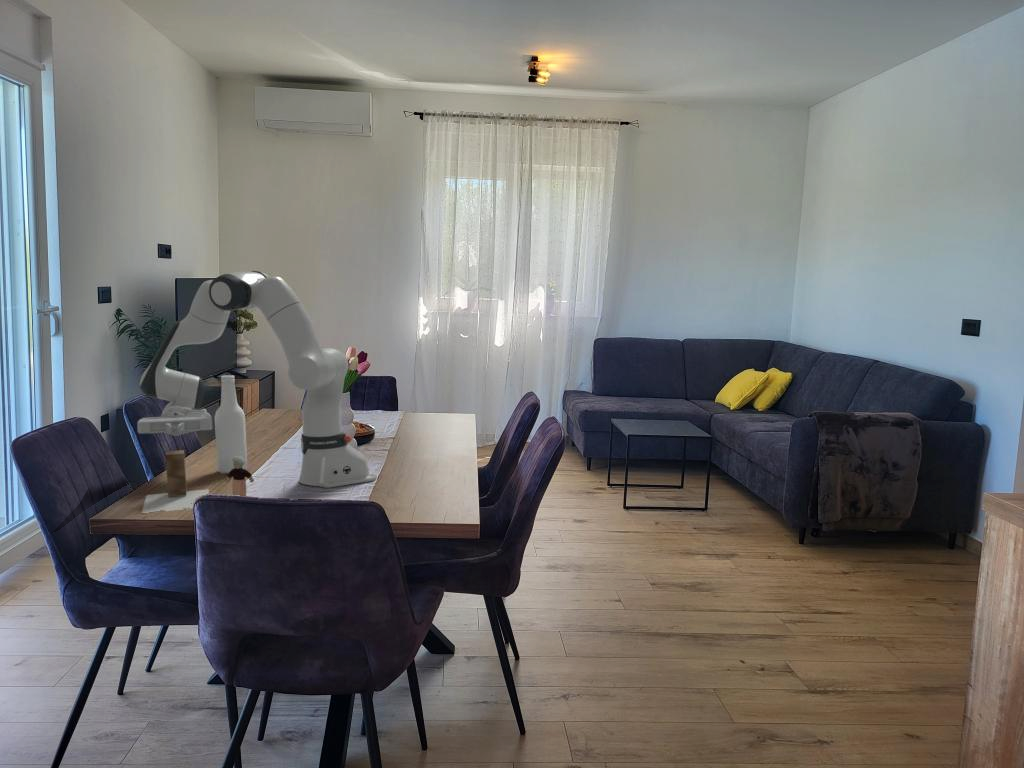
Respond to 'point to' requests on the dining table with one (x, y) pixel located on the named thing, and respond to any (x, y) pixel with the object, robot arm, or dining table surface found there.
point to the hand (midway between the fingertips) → (174, 429)
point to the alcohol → (229, 428)
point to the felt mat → (171, 501)
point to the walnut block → (176, 473)
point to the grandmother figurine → (239, 476)
